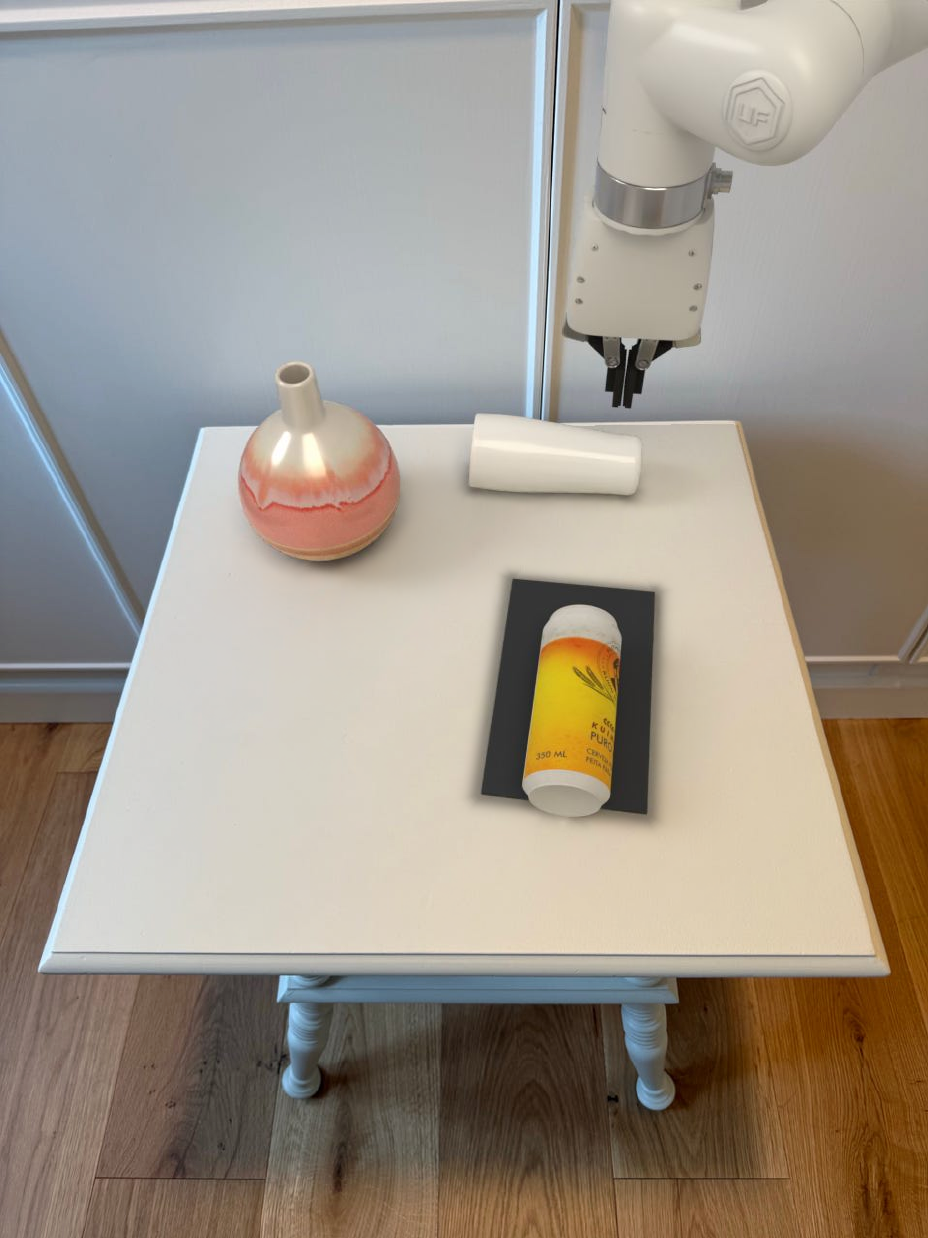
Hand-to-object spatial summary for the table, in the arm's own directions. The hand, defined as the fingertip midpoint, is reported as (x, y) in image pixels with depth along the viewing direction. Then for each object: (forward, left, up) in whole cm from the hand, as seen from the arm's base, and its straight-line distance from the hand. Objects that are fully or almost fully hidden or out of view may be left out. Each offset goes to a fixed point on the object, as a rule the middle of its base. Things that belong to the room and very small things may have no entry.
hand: (622, 396), depth 77 cm
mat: (+2, +23, -10) cm, 25 cm away
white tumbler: (-2, 0, -8) cm, 8 cm away
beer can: (+2, +34, -7) cm, 35 cm away
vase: (+25, +9, -10) cm, 28 cm away
